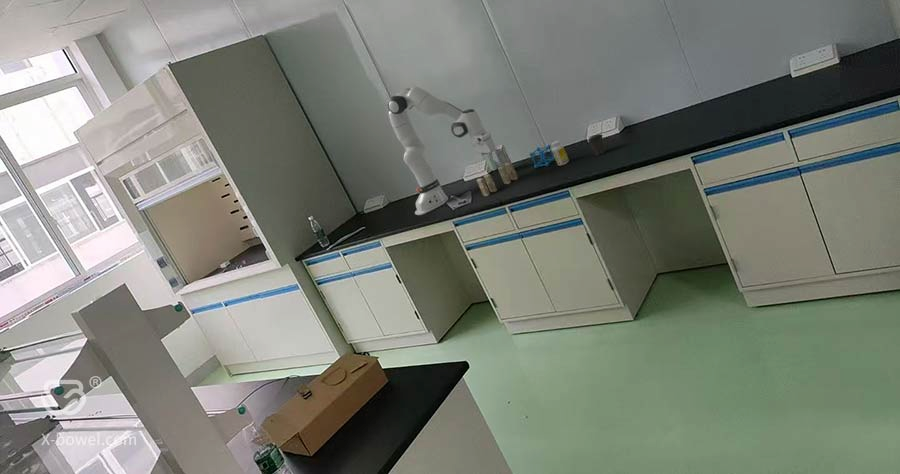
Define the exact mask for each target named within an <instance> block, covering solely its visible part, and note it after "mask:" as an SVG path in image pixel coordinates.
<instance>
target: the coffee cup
mask: <svg viewBox="0 0 900 474" xmlns="http://www.w3.org/2000/svg"><path fill="white" fill-rule="evenodd" d="M587 142H589V144H590V146H591V148H592V150H593V152H594V154H595V156H596V155H598V156H600V155H599V154H601V155H603V154H602V153H603V152H605V151H606V147H605V144H604V143H605V142H604V139H603V135H602V134H601V133H600V134H595V135H593V136H591V137H590V138H588V139H587ZM605 153H606V152H605Z"/></svg>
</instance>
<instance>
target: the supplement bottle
mask: <svg viewBox="0 0 900 474" xmlns="http://www.w3.org/2000/svg"><path fill="white" fill-rule="evenodd" d="M550 145H551V147H552V148H551V152H552V154H553V157H555V162H556V164H557V166H559V167H560V166H563V165H566V164H568V163H569V162H570V160H569V157H568V154H567V152H566V149H565V148H564V144H561V142H560V140H556V141H553V142H551V144H550Z"/></svg>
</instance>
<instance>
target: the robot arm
mask: <svg viewBox="0 0 900 474" xmlns="http://www.w3.org/2000/svg"><path fill="white" fill-rule="evenodd" d="M413 107H415V108H416V109H418V111H420V112H421V113H423V114H424V115H427V116H436V115H447V116H448V117H451V118H452V119H454V122H453V123H452V124H451V126H450V131H451V133H452V134H453V136H454V137H456V138H463V137H465V136H466V135H468V134H469V136H470V139H471V144H472V147H473V151H474V152H475V154H480V155H481V156H482V157H483V160H485V161H486V159H485V157H484V155H483V154H485V153H488V154H489V159H493V160H494V156H493V152H495V150H496V145H495V142H494V140H493V138H492V133H490V132H488V131H487V130H486V129H485V127H484V126H483V124H482V120H481V118H480V116H479V114H478V112H477V111H476V110H475V109H474V108H469V109H466V110H464V111H463V110H462V109H460V108H458V107H457V106H455V105H453V104H451V103H449V102H447V101H445V100H442V99H440V98H438V97H437V96H434V95H433V94H431V93H430V92H428V91H427V90H425V89H423V88H421V87H419V86H413V87H411V88H406V89H402V90H401V91H399V92H397V93H396V94H394V95H392V96H391V97H390V98H389V100H388V101H387V108H388V117H389V122H390V124H391V126H392V129H393V131H394V133H395V136H396V138H397V139H398V142H400V143H401V145H402V146H403V148H404V150H405V151H404V154H403V162H404V163H405V164H406V165H407V166H408V167H409V169H410V171H411V172H412V173H413V175H414V177H415V179H416V181H417V183H418V185H419V187H417V188H415V191H416V192H418V193H419V195H418V198H417V199H416V201H415V208H416V210H415V211H414V215H417V216H422V215H425V214H427V213H428V212H431V211H433V210H435V209H436V208H439V207H441V206H442V205H444V204H446V202H447V201H448V200H449V197H448V196H447V195H446V194H445V192H444V190H443V189H442V186H441V184H440V181H439V180H438V178H437V177H436V174H435V173H434V171H433V168H432V167H431V166H430V165H429V164H428V162H427V161H426V159H425V156H426V154H427V148H426V146H425V145H424V144H423V142H422V140H421V139H420V137H419V136H418V134H417V133H416V131H415V128H414V127H413V124H412V122H411V119H410V118H409V115H408V110H411V109H412V108H413Z"/></svg>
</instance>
